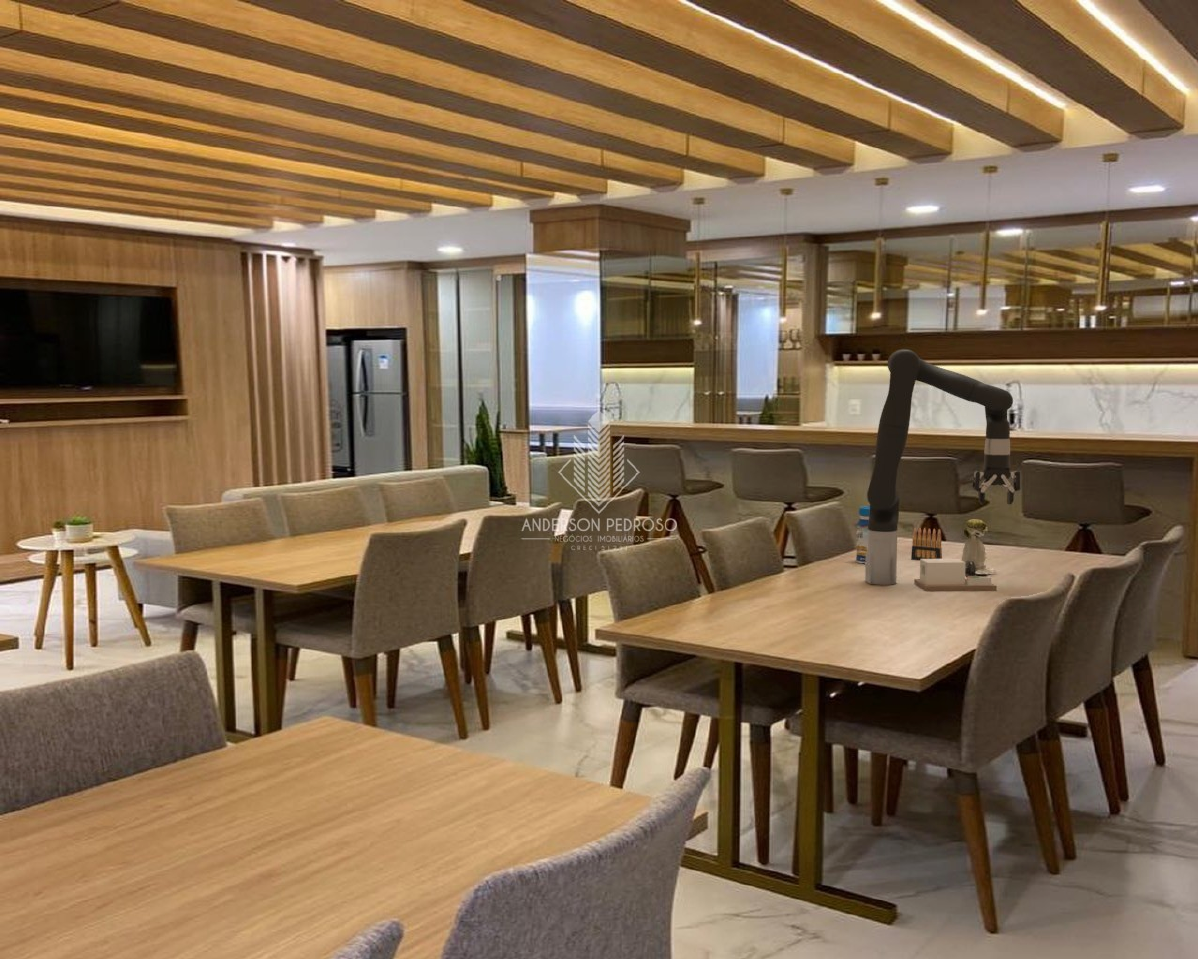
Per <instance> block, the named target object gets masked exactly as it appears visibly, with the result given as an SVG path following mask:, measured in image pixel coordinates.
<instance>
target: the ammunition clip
mask: <svg viewBox="0 0 1198 959" xmlns="http://www.w3.org/2000/svg"><path fill="white" fill-rule="evenodd" d="M931 531H932V532H931ZM936 533H937V534H936ZM942 549H943V548H942V531H941V529H940V528H938V529H937V531H936V529H935V528H933V530H931V528H928V530H927V528H926V527H923V530H922V529H921V527H918V531H917V527H916V526H914V528H913V534H912V542H911V554H910V557H911V558H910V560H912V561H920V559H943V554H942V552H943V551H942Z"/></svg>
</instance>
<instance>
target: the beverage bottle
mask: <svg viewBox="0 0 1198 959" xmlns="http://www.w3.org/2000/svg"><path fill="white" fill-rule="evenodd" d="M869 514H870V505H869V506H866V505H865V506H859V507H858V516H859V519H858V521H857V524H856V528H857V530H856V533H855V535H856V557H855V559H856V563H859V564H862V563H866V552H867V551H868V520H869Z"/></svg>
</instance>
